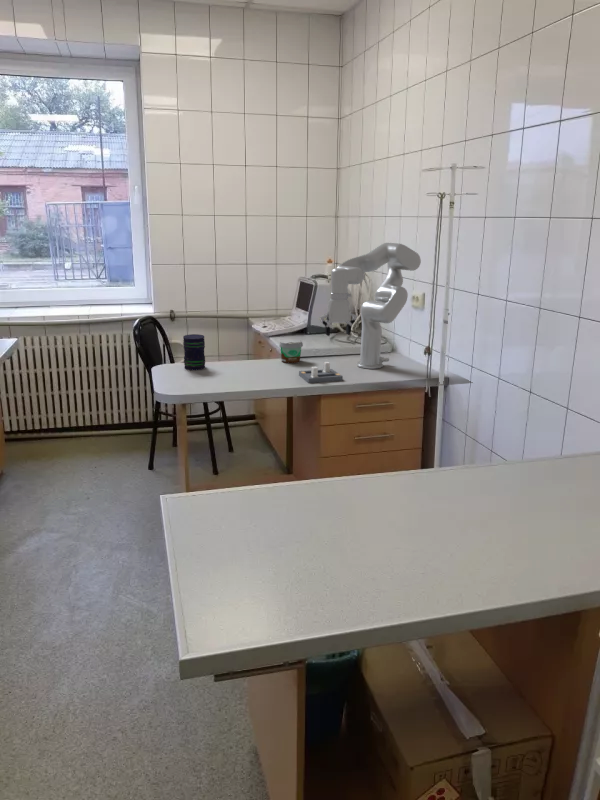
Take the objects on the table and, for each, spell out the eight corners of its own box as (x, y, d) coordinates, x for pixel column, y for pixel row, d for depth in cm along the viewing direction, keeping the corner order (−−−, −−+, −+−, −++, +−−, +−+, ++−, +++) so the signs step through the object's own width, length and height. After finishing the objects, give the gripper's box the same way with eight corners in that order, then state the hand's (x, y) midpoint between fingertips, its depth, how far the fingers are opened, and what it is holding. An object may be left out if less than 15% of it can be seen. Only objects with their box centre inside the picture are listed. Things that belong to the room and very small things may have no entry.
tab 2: (328, 371, 284) (328, 361, 283) (330, 373, 282) (331, 363, 280) (322, 372, 283) (322, 361, 282) (324, 374, 281) (324, 363, 279)
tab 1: (316, 377, 276) (316, 366, 274) (318, 378, 273) (319, 368, 271) (310, 377, 275) (310, 366, 273) (312, 379, 272) (312, 368, 270)
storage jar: (202, 364, 297) (201, 333, 293) (208, 369, 289) (207, 337, 284) (181, 366, 293) (180, 335, 289) (187, 371, 285) (186, 339, 280)
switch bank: (331, 373, 287) (331, 368, 286) (342, 380, 275) (342, 375, 274) (298, 375, 282) (299, 370, 281) (308, 383, 270) (308, 378, 269)
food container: (284, 365, 299) (284, 344, 296) (278, 362, 304) (279, 342, 301) (306, 362, 305) (307, 342, 302) (301, 359, 310) (301, 340, 307)
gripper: (354, 294, 280) (352, 332, 285) (317, 296, 275) (317, 334, 280) (360, 297, 273) (358, 335, 278) (323, 298, 268) (322, 337, 273)
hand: (338, 334), depth 279 cm, fingers open, 9 cm apart
